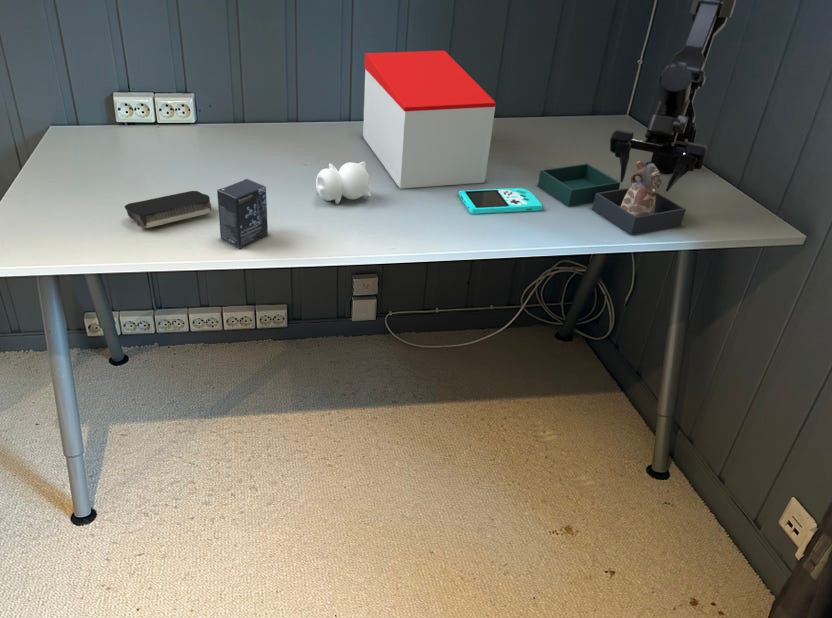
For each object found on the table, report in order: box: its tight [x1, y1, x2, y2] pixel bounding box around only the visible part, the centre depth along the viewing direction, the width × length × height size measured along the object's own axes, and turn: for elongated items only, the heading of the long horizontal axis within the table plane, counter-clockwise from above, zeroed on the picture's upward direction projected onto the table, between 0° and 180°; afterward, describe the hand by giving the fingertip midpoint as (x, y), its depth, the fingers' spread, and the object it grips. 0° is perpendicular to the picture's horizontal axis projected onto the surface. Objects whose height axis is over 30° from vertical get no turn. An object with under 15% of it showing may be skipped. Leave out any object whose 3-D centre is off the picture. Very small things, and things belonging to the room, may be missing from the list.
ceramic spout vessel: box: [620, 160, 663, 217], centre depth 153 cm, size 7×7×12 cm
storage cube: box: [362, 50, 497, 190], centre depth 175 cm, size 21×35×21 cm, turn 13°
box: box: [216, 178, 269, 249], centre depth 141 cm, size 8×6×11 cm
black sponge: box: [123, 190, 212, 229], centre depth 150 cm, size 16×8×4 cm, turn 123°
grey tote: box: [591, 187, 687, 236], centre depth 155 cm, size 13×13×4 cm
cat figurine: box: [315, 160, 372, 205], centre depth 160 cm, size 9×11×12 cm
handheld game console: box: [458, 187, 543, 215], centre depth 160 cm, size 10×16×1 cm, turn 99°
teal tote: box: [537, 163, 621, 207], centre depth 165 cm, size 13×12×4 cm
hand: (643, 185), depth 152 cm, fingers open, 9 cm apart
